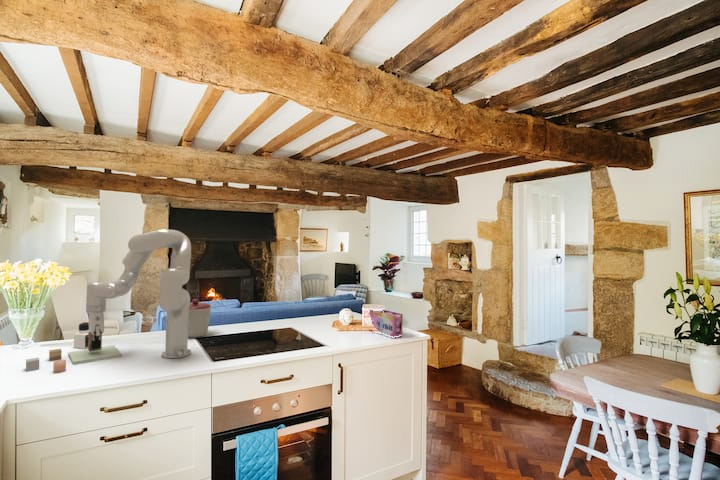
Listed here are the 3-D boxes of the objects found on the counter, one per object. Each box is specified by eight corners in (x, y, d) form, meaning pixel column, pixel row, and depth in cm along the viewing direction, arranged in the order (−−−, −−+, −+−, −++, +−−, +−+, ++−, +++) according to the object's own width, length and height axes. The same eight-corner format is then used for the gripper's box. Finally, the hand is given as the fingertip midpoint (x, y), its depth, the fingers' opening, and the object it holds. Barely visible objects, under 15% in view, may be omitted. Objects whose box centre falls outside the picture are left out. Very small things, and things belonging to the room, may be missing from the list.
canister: (183, 331, 219) (184, 296, 219) (215, 331, 221) (216, 296, 221) (171, 340, 201) (172, 301, 201) (206, 339, 203) (207, 301, 203)
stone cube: (39, 369, 153) (39, 359, 153) (26, 371, 150) (26, 361, 150) (38, 366, 156) (38, 357, 156) (25, 369, 153) (26, 359, 153)
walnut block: (101, 349, 172) (101, 332, 172) (89, 351, 169) (90, 334, 169) (99, 347, 175) (100, 330, 175) (88, 349, 172) (88, 332, 172)
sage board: (121, 356, 172) (121, 353, 172) (73, 364, 159) (73, 361, 159) (113, 347, 185) (113, 345, 185) (68, 354, 172) (68, 352, 172)
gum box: (404, 337, 217) (404, 314, 217) (394, 339, 212) (395, 316, 212) (377, 329, 236) (378, 308, 236) (368, 331, 231) (368, 309, 231)
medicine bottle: (85, 349, 181) (85, 324, 181) (73, 347, 183) (73, 323, 183) (98, 345, 188) (98, 321, 188) (86, 344, 190) (87, 320, 190)
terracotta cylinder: (66, 371, 151) (66, 361, 151) (53, 373, 148) (54, 363, 148) (65, 368, 154) (65, 359, 154) (52, 371, 151) (53, 361, 151)
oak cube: (61, 359, 166) (61, 350, 166) (49, 361, 163) (49, 352, 163) (60, 357, 169) (60, 348, 169) (49, 359, 166) (49, 350, 166)
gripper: (109, 310, 168) (107, 350, 168) (102, 305, 181) (101, 342, 181) (89, 312, 163) (87, 353, 163) (83, 306, 175) (82, 344, 175)
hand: (94, 346), depth 172 cm, fingers closed on walnut block, 4 cm apart
